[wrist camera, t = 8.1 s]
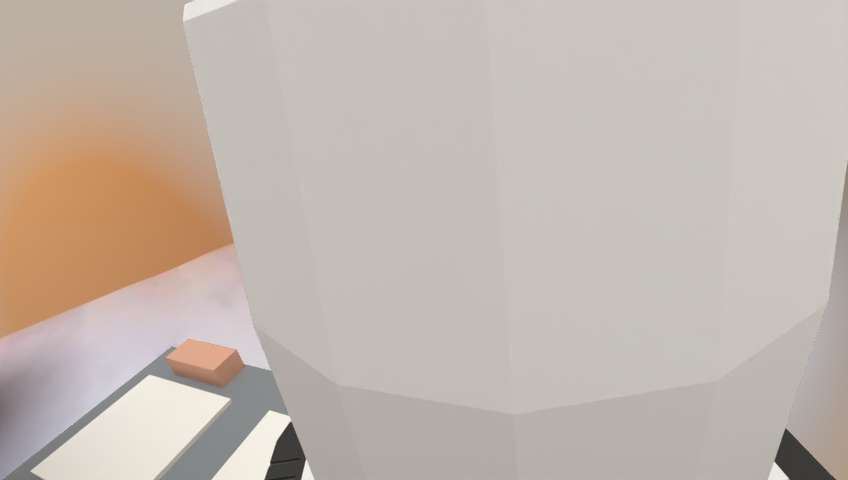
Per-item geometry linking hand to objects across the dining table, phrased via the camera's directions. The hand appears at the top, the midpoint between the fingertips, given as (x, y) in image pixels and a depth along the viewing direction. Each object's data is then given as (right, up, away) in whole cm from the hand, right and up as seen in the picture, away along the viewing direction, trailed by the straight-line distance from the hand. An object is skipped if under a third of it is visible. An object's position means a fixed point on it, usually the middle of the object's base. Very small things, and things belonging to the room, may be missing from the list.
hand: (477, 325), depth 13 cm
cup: (+2, -13, +1) cm, 13 cm away
